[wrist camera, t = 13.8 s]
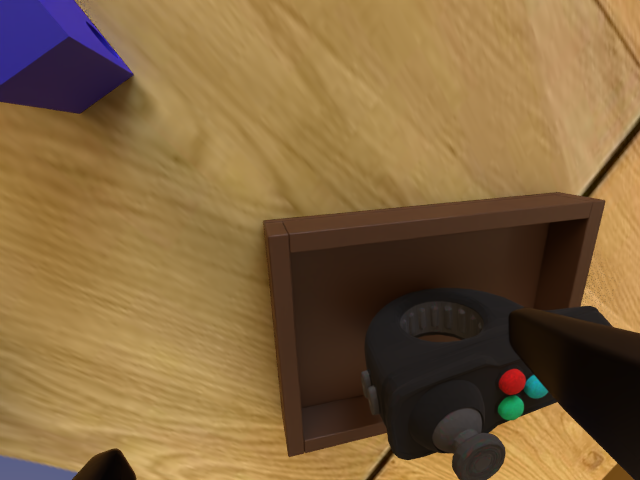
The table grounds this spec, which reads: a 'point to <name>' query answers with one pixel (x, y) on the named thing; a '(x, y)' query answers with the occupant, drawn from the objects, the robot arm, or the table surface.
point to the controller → (451, 375)
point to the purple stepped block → (54, 56)
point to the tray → (404, 288)
